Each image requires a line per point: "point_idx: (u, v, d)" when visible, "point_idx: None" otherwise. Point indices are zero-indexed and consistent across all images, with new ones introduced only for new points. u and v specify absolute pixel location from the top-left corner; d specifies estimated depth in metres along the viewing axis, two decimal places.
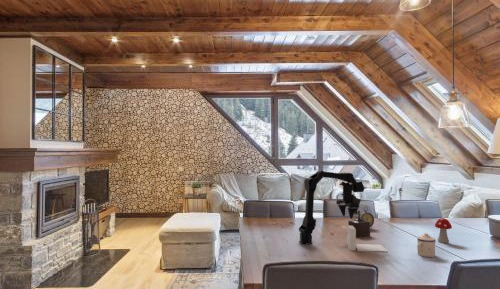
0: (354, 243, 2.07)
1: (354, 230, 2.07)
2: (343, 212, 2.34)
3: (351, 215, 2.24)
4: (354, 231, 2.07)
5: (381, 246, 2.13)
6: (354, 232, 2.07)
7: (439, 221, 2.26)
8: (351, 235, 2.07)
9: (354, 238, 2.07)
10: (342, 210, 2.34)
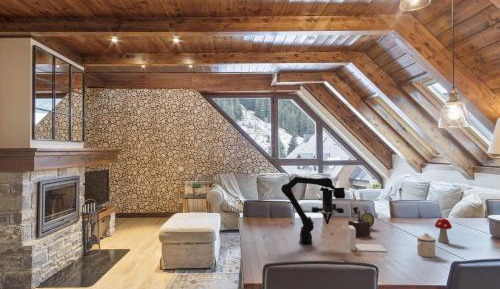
0: (354, 243, 2.07)
1: (354, 230, 2.07)
2: (327, 220, 2.21)
3: (325, 220, 2.21)
4: (354, 231, 2.07)
5: (381, 246, 2.13)
6: (354, 232, 2.07)
7: (439, 221, 2.26)
8: (351, 235, 2.07)
9: (354, 238, 2.07)
10: (327, 217, 2.21)
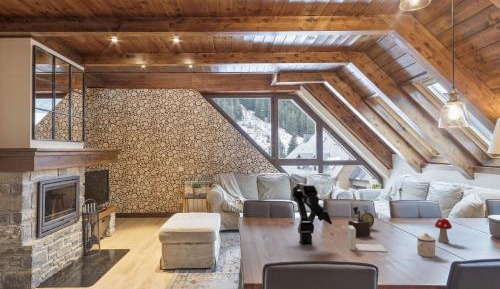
0: (354, 243, 2.07)
1: (354, 230, 2.07)
2: None
3: None
4: (354, 231, 2.07)
5: (381, 246, 2.13)
6: (354, 232, 2.07)
7: (439, 221, 2.26)
8: (351, 235, 2.07)
9: (354, 238, 2.07)
10: None
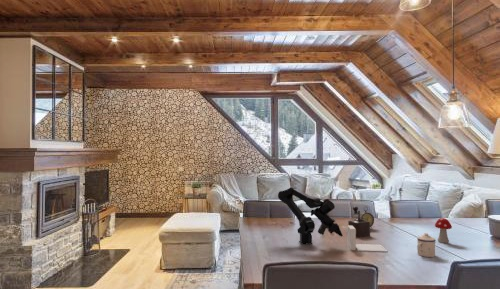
0: (354, 243, 2.07)
1: (354, 230, 2.07)
2: None
3: None
4: (354, 231, 2.07)
5: (381, 246, 2.13)
6: (354, 232, 2.07)
7: (439, 221, 2.26)
8: (351, 235, 2.07)
9: (354, 238, 2.07)
10: None
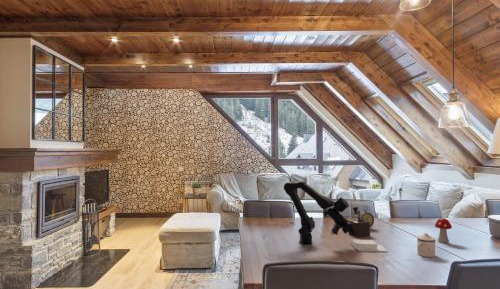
0: (362, 248, 2.07)
1: (375, 248, 2.06)
2: None
3: None
4: (374, 248, 2.06)
5: (381, 246, 2.13)
6: (373, 248, 2.06)
7: (439, 221, 2.26)
8: (370, 245, 2.06)
9: (367, 248, 2.06)
10: None
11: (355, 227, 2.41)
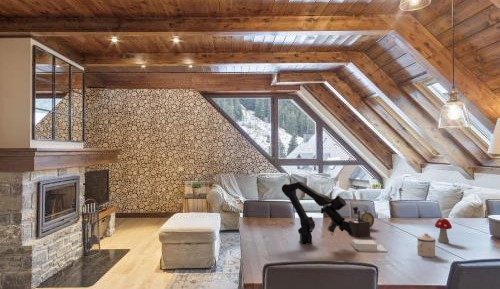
0: (362, 248, 2.07)
1: (375, 248, 2.06)
2: None
3: None
4: (374, 248, 2.06)
5: (381, 246, 2.13)
6: (373, 248, 2.06)
7: (439, 221, 2.26)
8: (370, 245, 2.06)
9: (367, 248, 2.06)
10: None
11: (355, 227, 2.41)
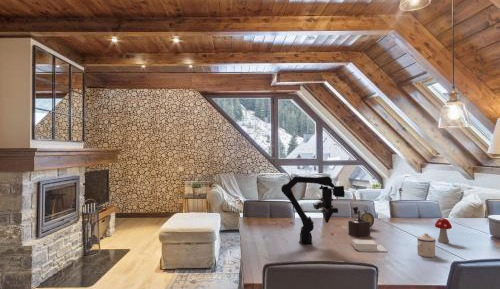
0: (362, 248, 2.07)
1: (375, 248, 2.06)
2: None
3: None
4: (374, 248, 2.06)
5: (381, 246, 2.13)
6: (373, 248, 2.06)
7: (439, 221, 2.26)
8: (370, 245, 2.06)
9: (367, 248, 2.06)
10: None
11: (355, 227, 2.41)
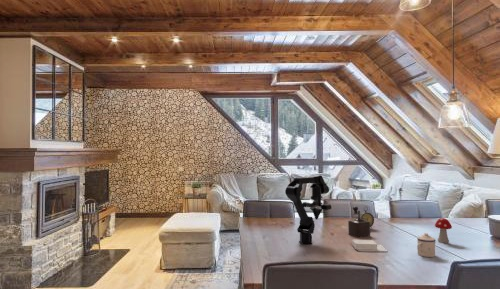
0: (362, 248, 2.07)
1: (375, 248, 2.06)
2: None
3: None
4: (374, 248, 2.06)
5: (381, 246, 2.13)
6: (373, 248, 2.06)
7: (439, 221, 2.26)
8: (370, 245, 2.06)
9: (367, 248, 2.06)
10: None
11: (355, 227, 2.41)
